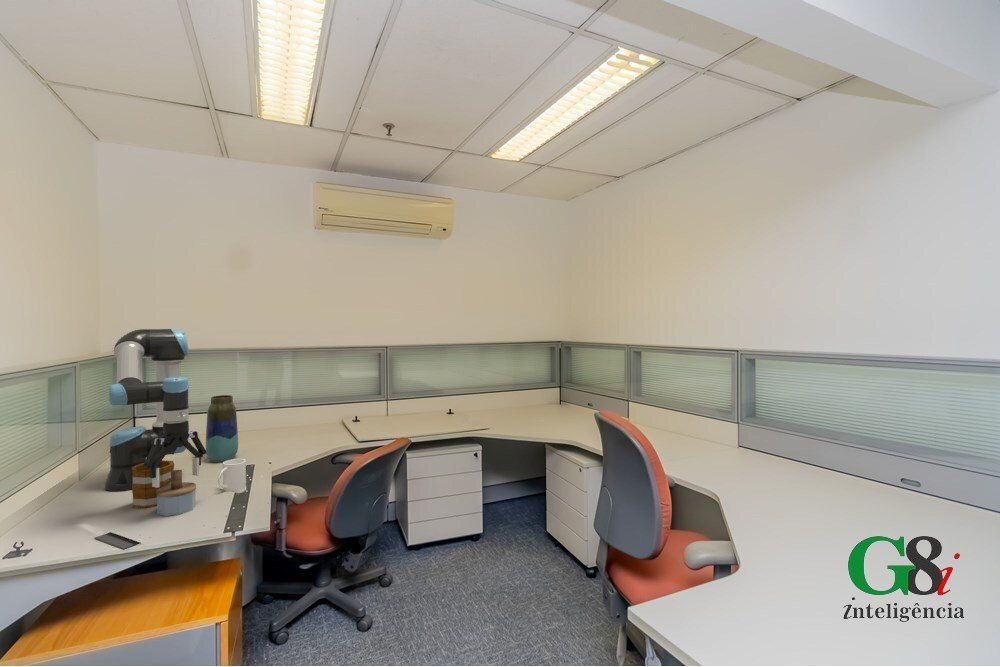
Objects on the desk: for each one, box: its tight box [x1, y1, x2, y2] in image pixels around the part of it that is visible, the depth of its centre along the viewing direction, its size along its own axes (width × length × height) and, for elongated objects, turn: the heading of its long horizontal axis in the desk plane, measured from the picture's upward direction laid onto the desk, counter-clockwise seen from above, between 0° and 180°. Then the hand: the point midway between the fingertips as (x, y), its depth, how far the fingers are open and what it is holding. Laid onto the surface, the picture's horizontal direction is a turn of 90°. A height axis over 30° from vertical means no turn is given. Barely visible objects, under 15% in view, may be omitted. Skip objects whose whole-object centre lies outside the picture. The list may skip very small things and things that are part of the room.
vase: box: [205, 394, 239, 463], centre depth 231 cm, size 14×14×31 cm
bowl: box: [156, 490, 197, 517], centre depth 167 cm, size 10×10×8 cm
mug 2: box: [217, 458, 247, 494], centre depth 188 cm, size 12×8×12 cm
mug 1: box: [131, 459, 175, 509], centre depth 177 cm, size 20×14×15 cm
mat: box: [94, 531, 141, 551], centre depth 151 cm, size 16×14×1 cm
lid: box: [156, 469, 197, 497], centre depth 167 cm, size 12×12×7 cm
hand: (176, 480), depth 167 cm, fingers open, 13 cm apart
